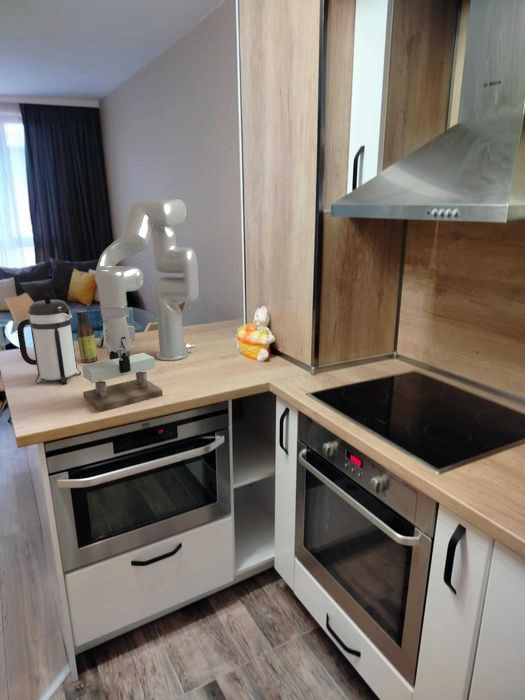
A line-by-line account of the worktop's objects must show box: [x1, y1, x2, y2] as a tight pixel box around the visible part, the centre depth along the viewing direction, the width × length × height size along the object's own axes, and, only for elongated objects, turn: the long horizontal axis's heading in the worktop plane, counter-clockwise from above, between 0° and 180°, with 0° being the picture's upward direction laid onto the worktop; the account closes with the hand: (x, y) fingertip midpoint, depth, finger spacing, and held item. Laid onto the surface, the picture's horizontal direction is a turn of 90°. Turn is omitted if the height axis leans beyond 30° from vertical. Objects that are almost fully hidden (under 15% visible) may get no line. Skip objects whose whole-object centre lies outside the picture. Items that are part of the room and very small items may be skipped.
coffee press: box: [16, 292, 82, 386], centre depth 157 cm, size 17×16×30 cm
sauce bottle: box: [75, 309, 99, 364], centre depth 178 cm, size 6×6×20 cm
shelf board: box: [81, 352, 156, 384], centre depth 143 cm, size 20×7×4 cm, turn 131°
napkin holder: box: [96, 323, 136, 349], centre depth 203 cm, size 17×5×10 cm, turn 145°
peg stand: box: [82, 371, 163, 413], centre depth 145 cm, size 20×14×7 cm
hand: (120, 368), depth 143 cm, fingers closed on shelf board, 7 cm apart
